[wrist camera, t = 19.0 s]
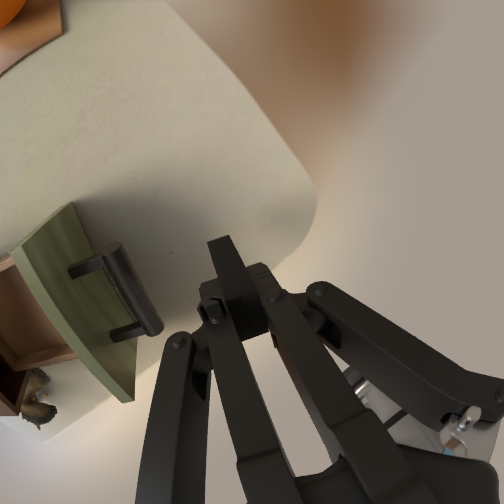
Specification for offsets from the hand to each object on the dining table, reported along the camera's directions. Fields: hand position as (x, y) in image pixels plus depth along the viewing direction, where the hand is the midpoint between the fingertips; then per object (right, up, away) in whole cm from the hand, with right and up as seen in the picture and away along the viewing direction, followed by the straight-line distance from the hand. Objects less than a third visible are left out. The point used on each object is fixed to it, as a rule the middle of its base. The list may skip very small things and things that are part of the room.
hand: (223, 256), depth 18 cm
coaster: (-19, +20, -10) cm, 29 cm away
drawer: (-17, -4, +2) cm, 17 cm away
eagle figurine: (-28, -18, +6) cm, 33 cm away
